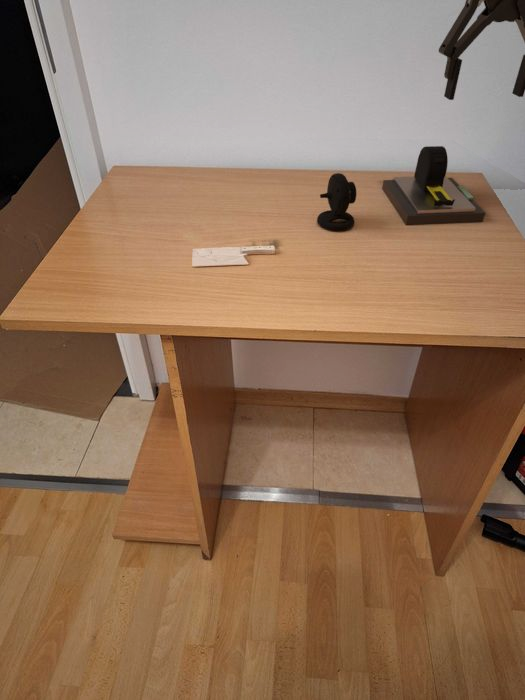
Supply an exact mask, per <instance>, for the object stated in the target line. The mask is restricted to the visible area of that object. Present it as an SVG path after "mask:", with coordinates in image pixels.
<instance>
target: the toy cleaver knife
mask: <svg viewBox="0 0 525 700" xmlns="http://www.w3.org/2000/svg"><path fill="white" fill-rule="evenodd" d="M256 254H257V255H258V254H260V255H261V254H262V255H263V254H266V255H268V254H269V255H275V254H276V248H275V245H257V246H256V245H255V246H254V245H253V246H227V247H226V246H225V247H221V246H220V247H202V248H192V256H191V257H192V259H191V260H192V261H191V262H192V263H191V265H192V267H194V268H195V267H220V266H243V265H250V264H249V262H248V261H247V259H248V255H256Z"/></svg>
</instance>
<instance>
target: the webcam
mask: <svg viewBox="0 0 525 700" xmlns="http://www.w3.org/2000/svg"><path fill="white" fill-rule="evenodd" d="M326 191H327V192H325V193H321V194H319V198H320V199H327V203H328V205H329V208H330V210H324V211H322V212H320V213H319V214H318V215H317V217H316V222H317V224H318V226H319V227H321V228H322V229H324V230H327V231H330V232H343V231H347V230H349V229H351V228H352V227H353V226H354V225H355V217H354V216H353V215H352V214H351V213H349V212H347V211H348V208H349V206H350V205H351V204H354V203H356V200H357V187H356V184H355V182H354V181H348V179H347V177H346V175H344V174H343V173H340V172H338V173H337V172H336V173H333V174H332V175H331V176H330V177H329V178H328V184H327V189H326ZM339 220H344V221H346V222H343V223H334V221H339Z"/></svg>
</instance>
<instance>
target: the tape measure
mask: <svg viewBox="0 0 525 700" xmlns="http://www.w3.org/2000/svg"><path fill="white" fill-rule="evenodd" d="M448 162H449V160H448V153H447V149H446V148H445V146H443V145H438V146H437V145H435V146H433V145H432V146H428V145H427V146H423V147H422V148H421V150H420V151H419V153H418V158H417V163H416V166H415V170H414V176H413V177H414V178H415V180H416V181H417V182H418V184H419V185H420V187H421V189H422V190H423V191H424V192H431V193H432V195H433V196H434V197H435V199H436V200H437V201H436V200H434V206H441V205H446V206H452V205H453V203H454V201H455V199H454V200H452V201H451V198H450V197H449V196H448V195H447V193H446V192H445V191H444V190H443V188H442V187H443V181H444V177H445V176H446V175H447V172H448V171H447V170H448Z"/></svg>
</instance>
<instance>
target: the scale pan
mask: <svg viewBox="0 0 525 700" xmlns="http://www.w3.org/2000/svg"><path fill="white" fill-rule="evenodd" d="M448 178H449V177H447V176H446V175H445V177H444V181H443V187H442V188H443V190H444V191H445V192H446V193H447V195H448V196H449V197H450V198H451V201H452V200H454V199H455V201H454V203H453V205H452V206H446V205H441V206H434V200H436V199H435V197H434V196H433V195H432V193H431V192H424V191H423V190H422V189H421V187H420V185H419V184H418V182H417V181H416V180H415V178H414V176H393V177H392V180H393V181H394V183H395V184H396V186H397V187H398V188H399V190H400V191H401V193H402V194H403V195H404V197H405V198H406V200H407V201H408V202H409V204H410V205H411V207H412V208H413V210H414V211H415V212H416V214H435V213H460V212H475V210H476V208H475V207H474V206H473V205H472V204H471V202H470V201H469V200H468V199H467V198H466V197H465V196H464V195H463V194H462V193H461V192H460V191H459V190H458V189H457V188H456V186H455V185H454V184H453V183H452V182H451V181H450V180H449V179H448ZM436 201H437V200H436Z"/></svg>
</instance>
